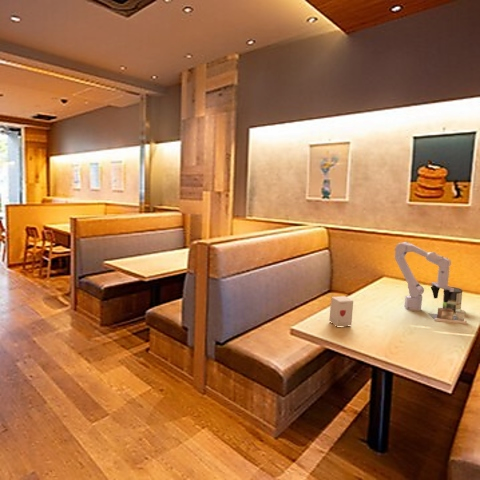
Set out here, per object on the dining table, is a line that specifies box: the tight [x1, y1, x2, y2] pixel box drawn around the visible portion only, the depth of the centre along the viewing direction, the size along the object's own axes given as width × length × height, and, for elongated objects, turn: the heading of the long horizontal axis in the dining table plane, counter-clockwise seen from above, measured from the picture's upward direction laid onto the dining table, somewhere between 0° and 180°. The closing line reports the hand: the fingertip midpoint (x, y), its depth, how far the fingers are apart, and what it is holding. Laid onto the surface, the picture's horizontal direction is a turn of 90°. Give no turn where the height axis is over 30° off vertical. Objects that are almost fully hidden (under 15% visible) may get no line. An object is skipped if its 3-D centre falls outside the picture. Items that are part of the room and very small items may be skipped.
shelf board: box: [428, 312, 468, 325], centre depth 214 cm, size 16×13×2 cm
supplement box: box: [328, 295, 354, 327], centre depth 201 cm, size 9×9×15 cm
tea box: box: [436, 307, 455, 320], centre depth 212 cm, size 7×4×6 cm, turn 87°
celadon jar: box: [455, 308, 466, 321], centre depth 210 cm, size 5×5×7 cm
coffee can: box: [442, 286, 463, 313], centre depth 229 cm, size 10×10×14 cm
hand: (440, 300), depth 219 cm, fingers open, 7 cm apart
